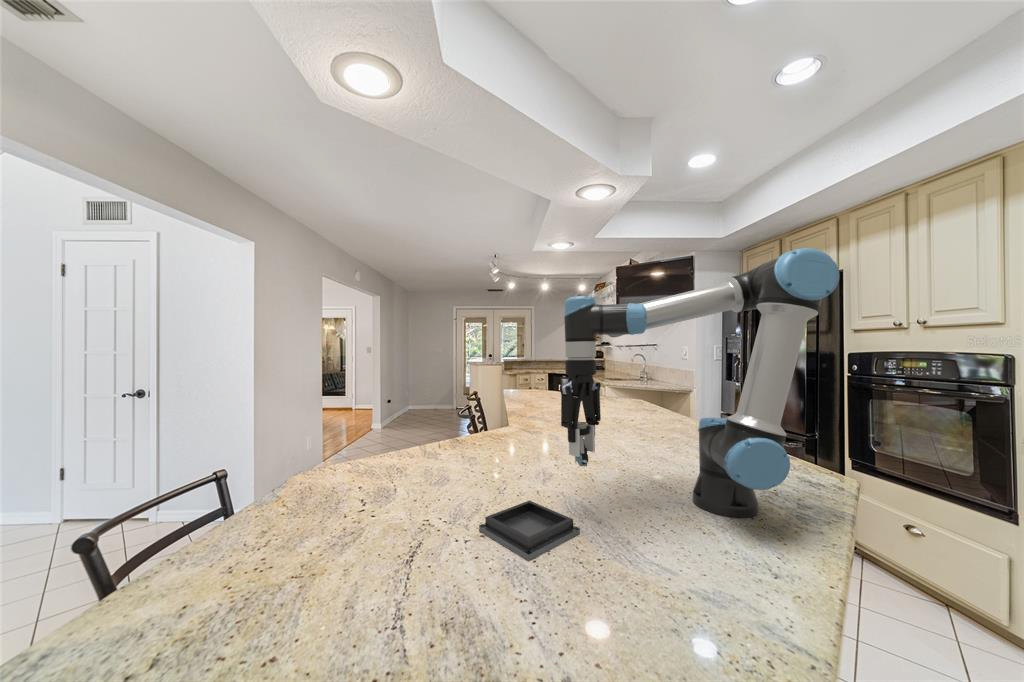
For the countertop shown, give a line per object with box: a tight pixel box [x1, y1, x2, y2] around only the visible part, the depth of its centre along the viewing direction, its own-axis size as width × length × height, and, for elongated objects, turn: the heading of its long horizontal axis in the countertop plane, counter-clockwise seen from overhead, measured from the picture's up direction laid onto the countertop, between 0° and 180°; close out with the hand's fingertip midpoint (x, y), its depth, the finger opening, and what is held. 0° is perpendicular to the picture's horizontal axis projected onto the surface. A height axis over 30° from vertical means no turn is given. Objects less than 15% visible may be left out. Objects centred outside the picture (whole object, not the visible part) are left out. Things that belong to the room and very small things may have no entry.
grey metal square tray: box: [478, 500, 581, 562], centre depth 83 cm, size 16×16×3 cm
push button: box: [572, 421, 590, 467], centre depth 91 cm, size 7×5×10 cm
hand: (582, 452), depth 91 cm, fingers closed on push button, 5 cm apart
